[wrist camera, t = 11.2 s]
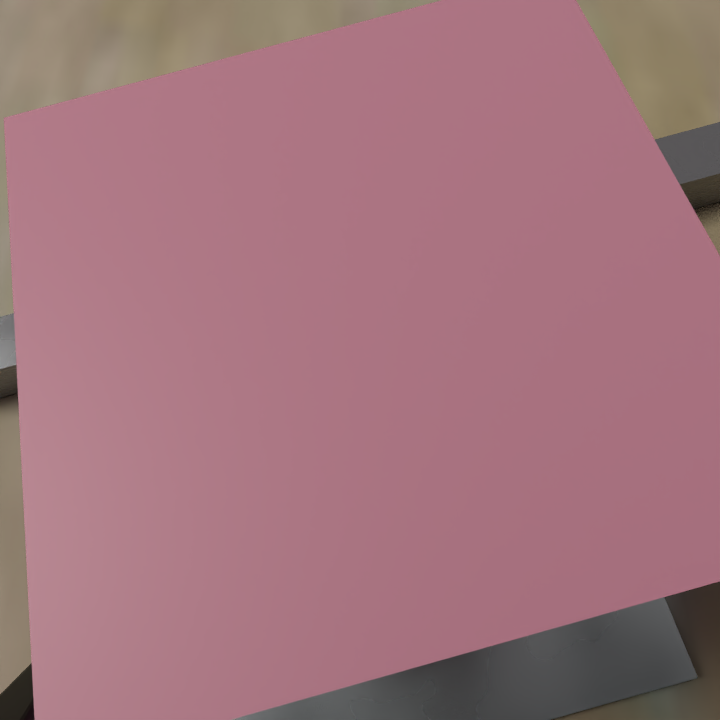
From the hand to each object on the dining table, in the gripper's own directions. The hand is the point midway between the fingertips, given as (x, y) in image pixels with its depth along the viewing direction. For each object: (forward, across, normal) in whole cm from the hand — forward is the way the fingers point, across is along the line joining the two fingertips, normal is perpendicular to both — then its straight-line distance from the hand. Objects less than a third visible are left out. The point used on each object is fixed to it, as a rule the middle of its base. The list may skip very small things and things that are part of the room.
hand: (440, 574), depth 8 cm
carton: (+6, 0, +4) cm, 7 cm away
